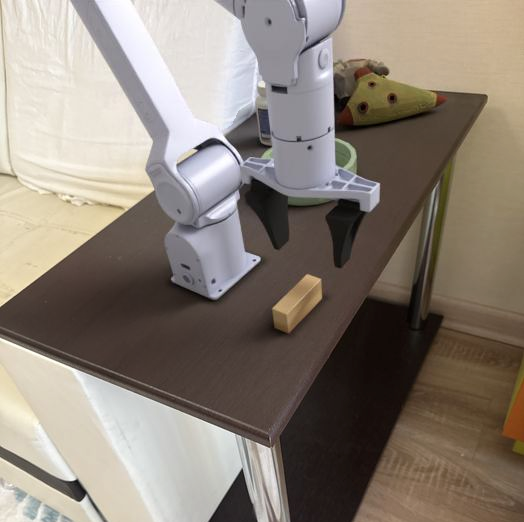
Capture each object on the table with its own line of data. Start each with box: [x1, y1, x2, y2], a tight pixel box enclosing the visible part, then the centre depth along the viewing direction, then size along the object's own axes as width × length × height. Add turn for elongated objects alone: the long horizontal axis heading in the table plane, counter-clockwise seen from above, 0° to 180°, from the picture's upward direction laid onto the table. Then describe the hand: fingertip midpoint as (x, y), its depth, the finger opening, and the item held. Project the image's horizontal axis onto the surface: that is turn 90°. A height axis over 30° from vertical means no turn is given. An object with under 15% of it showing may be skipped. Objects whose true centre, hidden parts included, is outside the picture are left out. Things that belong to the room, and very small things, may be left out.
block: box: [271, 273, 323, 335], centre depth 60 cm, size 7×2×3 cm, turn 143°
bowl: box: [260, 137, 358, 207], centre depth 81 cm, size 15×15×4 cm
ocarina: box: [336, 67, 448, 126], centre depth 92 cm, size 20×5×10 cm
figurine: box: [333, 58, 391, 110], centre depth 101 cm, size 10×14×15 cm
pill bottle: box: [254, 79, 272, 147], centre depth 90 cm, size 5×5×10 cm
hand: (311, 253), depth 56 cm, fingers open, 7 cm apart
